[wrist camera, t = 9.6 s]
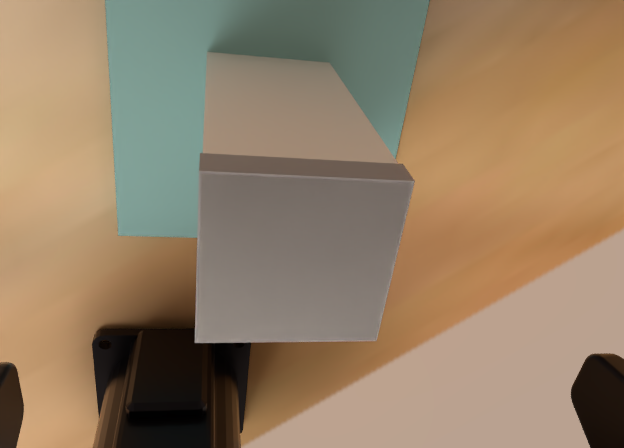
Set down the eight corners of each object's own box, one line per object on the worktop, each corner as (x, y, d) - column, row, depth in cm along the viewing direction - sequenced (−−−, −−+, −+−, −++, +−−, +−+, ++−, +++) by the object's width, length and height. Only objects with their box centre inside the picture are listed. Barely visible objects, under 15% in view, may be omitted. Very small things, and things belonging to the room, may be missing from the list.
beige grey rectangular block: (315, 173, 20) (376, 341, 13) (202, 167, 20) (194, 343, 12) (330, 61, 18) (414, 181, 11) (205, 50, 18) (198, 170, 10)
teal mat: (374, 235, 23) (377, 242, 22) (120, 228, 21) (118, 235, 20) (430, -28, 18) (435, -26, 17) (104, -69, 16) (101, -68, 16)
